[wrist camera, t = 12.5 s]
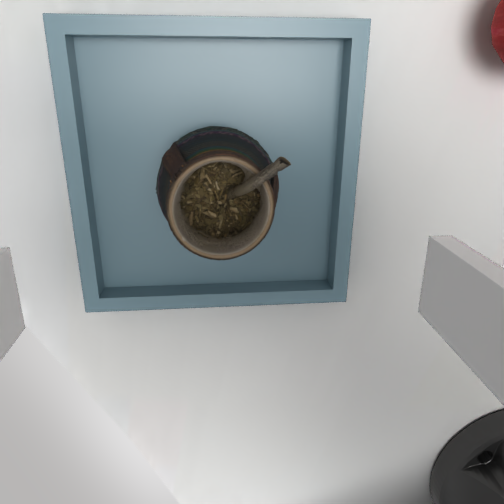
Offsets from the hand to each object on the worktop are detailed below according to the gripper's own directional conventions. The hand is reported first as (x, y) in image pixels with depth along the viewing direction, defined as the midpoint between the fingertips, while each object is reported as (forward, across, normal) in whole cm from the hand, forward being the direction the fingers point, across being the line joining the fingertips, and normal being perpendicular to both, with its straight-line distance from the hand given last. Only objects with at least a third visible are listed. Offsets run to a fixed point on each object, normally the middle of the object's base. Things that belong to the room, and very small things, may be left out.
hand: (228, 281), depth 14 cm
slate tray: (+17, 0, 0) cm, 17 cm away
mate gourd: (+17, 0, 0) cm, 17 cm away
